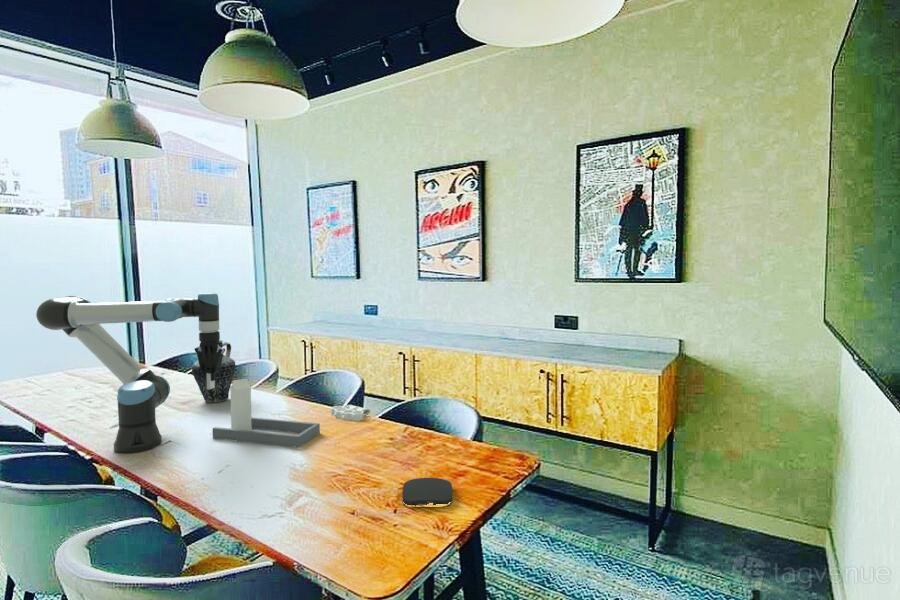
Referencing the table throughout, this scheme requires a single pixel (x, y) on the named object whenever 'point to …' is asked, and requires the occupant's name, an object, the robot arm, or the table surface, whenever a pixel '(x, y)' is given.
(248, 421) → the milk
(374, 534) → the table surface
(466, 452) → the table surface
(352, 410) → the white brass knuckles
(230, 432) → the tray
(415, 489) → the media streaming box
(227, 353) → the jug
